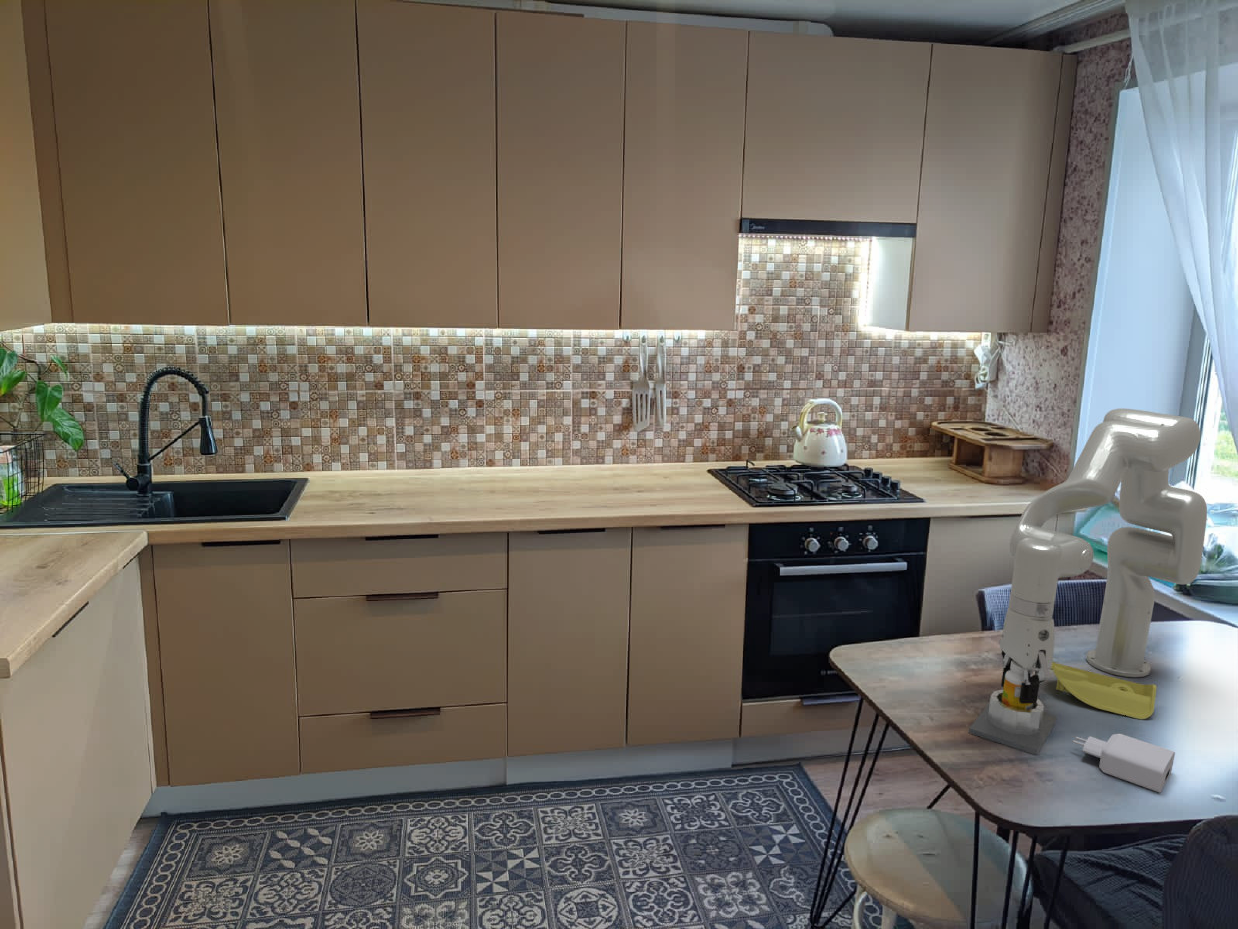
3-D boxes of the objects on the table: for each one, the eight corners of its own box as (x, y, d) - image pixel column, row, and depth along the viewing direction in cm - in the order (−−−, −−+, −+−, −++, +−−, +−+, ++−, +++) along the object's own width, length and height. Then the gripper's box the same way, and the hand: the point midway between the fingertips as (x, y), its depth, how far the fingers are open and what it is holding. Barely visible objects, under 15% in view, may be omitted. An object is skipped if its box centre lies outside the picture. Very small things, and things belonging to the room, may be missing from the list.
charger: (1079, 742, 168) (1171, 774, 158) (1064, 761, 161) (1159, 795, 151) (1083, 719, 167) (1176, 749, 157) (1068, 737, 160) (1164, 770, 150)
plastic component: (1146, 685, 186) (1158, 685, 177) (1140, 721, 185) (1152, 722, 176) (1042, 660, 193) (1049, 658, 184) (1036, 694, 192) (1042, 694, 183)
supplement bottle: (998, 702, 174) (1004, 655, 172) (1028, 706, 173) (1034, 659, 171) (1003, 715, 169) (1009, 667, 167) (1033, 719, 168) (1041, 671, 166)
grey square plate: (992, 702, 182) (995, 676, 181) (1056, 721, 175) (1060, 695, 174) (968, 733, 169) (972, 706, 168) (1036, 755, 162) (1040, 727, 161)
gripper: (1079, 623, 159) (1064, 716, 163) (1023, 588, 175) (1011, 673, 179) (1039, 624, 158) (1025, 718, 162) (987, 588, 174) (976, 675, 178)
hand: (1018, 693), depth 171 cm, fingers closed on supplement bottle, 5 cm apart
